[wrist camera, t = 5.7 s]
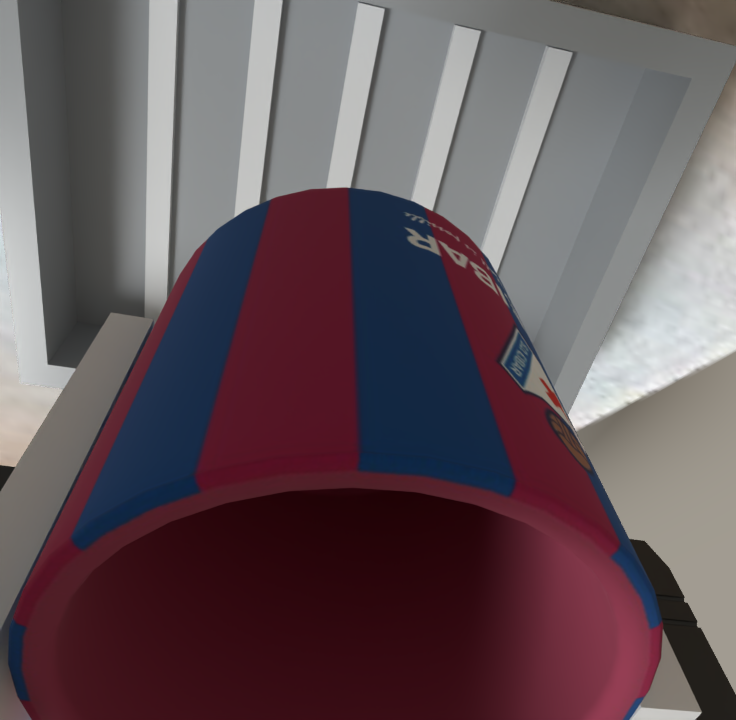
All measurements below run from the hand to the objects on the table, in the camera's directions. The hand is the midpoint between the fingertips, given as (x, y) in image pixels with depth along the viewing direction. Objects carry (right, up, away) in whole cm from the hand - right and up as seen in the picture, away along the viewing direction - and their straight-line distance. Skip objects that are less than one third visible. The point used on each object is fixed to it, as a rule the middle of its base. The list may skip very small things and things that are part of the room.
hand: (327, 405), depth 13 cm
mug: (-1, 0, 0) cm, 1 cm away
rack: (0, +7, +11) cm, 13 cm away
